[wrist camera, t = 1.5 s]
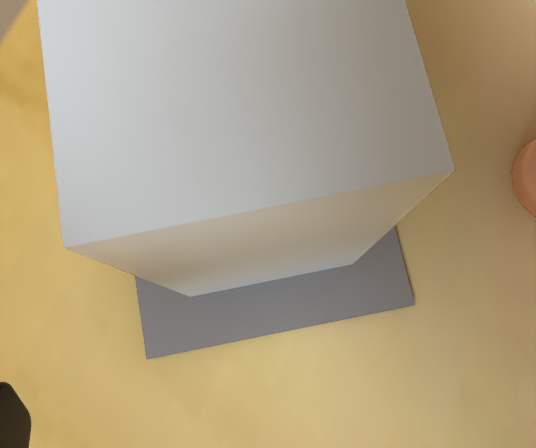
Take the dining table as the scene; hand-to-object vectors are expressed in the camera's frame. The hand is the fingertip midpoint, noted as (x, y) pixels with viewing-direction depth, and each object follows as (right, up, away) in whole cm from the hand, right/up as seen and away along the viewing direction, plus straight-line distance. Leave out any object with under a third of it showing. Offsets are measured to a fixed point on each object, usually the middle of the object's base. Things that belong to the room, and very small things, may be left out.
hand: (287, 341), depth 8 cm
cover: (-1, +3, +13) cm, 13 cm away
